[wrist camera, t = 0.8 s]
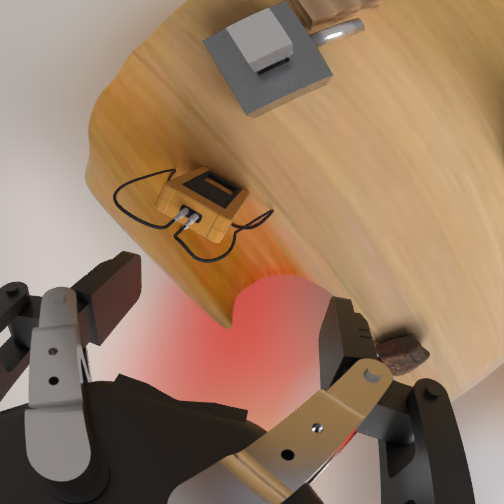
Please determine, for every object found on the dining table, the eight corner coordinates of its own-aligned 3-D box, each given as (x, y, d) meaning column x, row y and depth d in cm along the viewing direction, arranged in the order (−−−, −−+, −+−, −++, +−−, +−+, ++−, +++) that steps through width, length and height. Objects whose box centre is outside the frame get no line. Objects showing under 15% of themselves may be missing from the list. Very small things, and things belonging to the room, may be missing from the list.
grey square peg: (276, 44, 29) (268, 7, 18) (293, 70, 31) (292, 43, 20) (247, 58, 31) (225, 27, 20) (263, 85, 32) (248, 63, 21)
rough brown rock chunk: (375, 386, 43) (433, 369, 38) (365, 352, 44) (424, 332, 39) (379, 372, 48) (430, 356, 44) (369, 340, 49) (422, 322, 45)
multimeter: (152, 214, 42) (65, 276, 24) (180, 152, 38) (89, 177, 20) (240, 265, 43) (202, 361, 25) (276, 206, 39) (260, 277, 21)
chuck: (334, 4, 27) (341, -18, 21) (373, 66, 30) (389, 54, 24) (217, 55, 32) (202, 41, 26) (254, 118, 35) (246, 115, 29)
